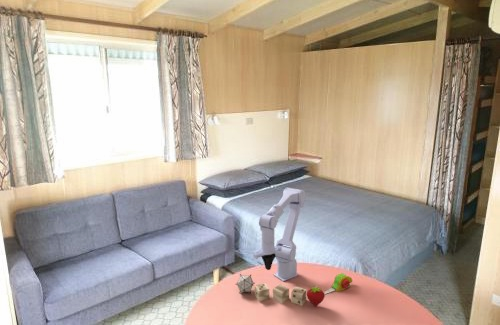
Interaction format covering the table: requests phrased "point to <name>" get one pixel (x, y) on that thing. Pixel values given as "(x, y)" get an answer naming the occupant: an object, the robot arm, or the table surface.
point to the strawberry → (315, 296)
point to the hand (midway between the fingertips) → (268, 269)
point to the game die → (245, 283)
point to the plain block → (281, 293)
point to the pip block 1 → (262, 292)
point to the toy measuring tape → (340, 283)
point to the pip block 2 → (298, 296)
